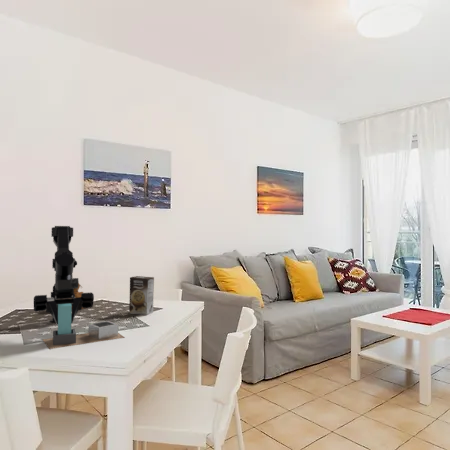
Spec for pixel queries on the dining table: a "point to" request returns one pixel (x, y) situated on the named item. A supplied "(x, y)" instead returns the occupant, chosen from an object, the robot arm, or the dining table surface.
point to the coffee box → (141, 295)
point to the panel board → (79, 340)
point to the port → (103, 330)
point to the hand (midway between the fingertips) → (64, 323)
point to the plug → (64, 319)
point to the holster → (64, 338)
